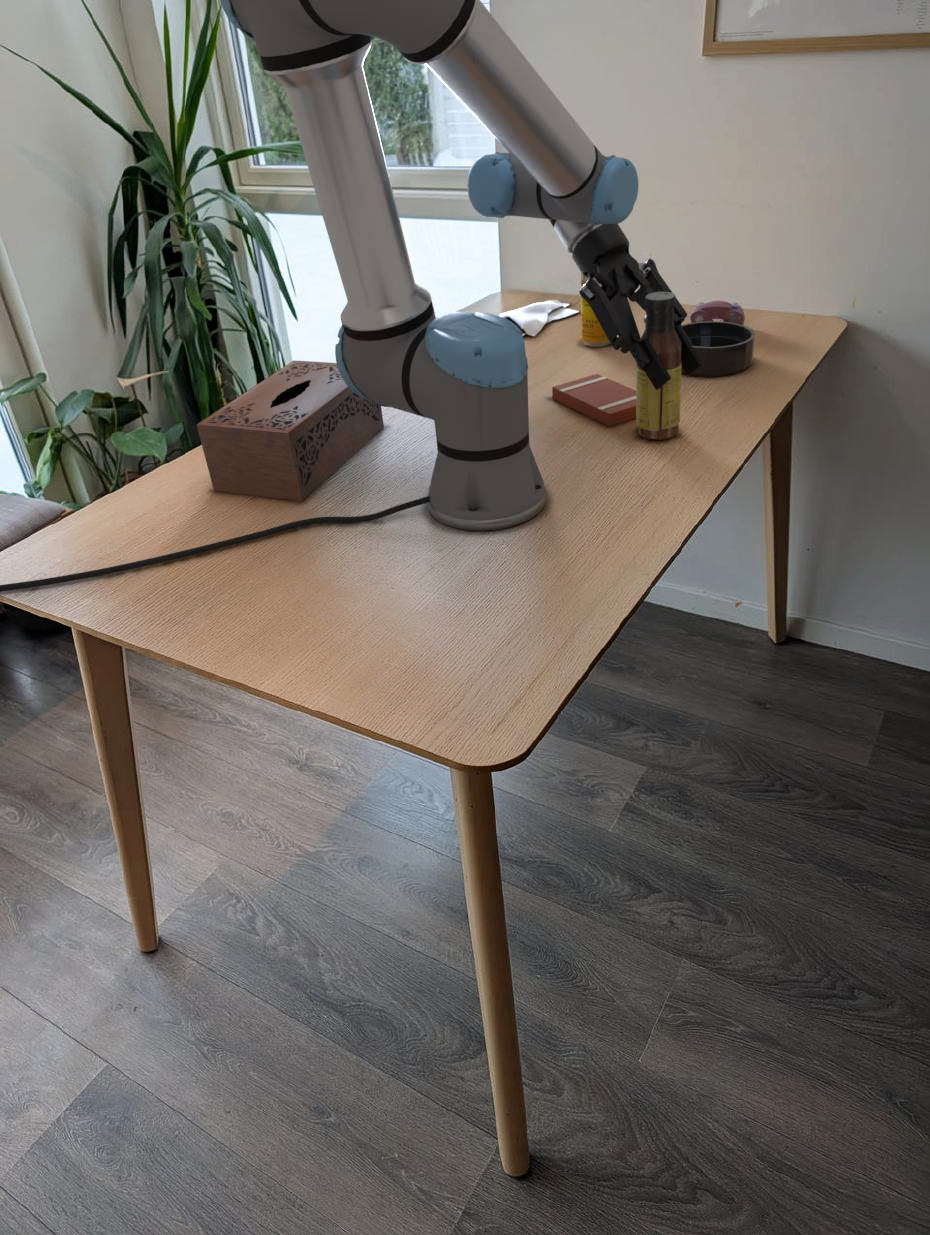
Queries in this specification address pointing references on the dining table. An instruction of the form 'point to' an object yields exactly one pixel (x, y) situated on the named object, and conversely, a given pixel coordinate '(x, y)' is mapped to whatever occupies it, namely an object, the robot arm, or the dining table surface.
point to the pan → (721, 347)
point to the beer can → (590, 324)
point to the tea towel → (598, 398)
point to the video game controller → (718, 312)
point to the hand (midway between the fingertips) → (679, 376)
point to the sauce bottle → (663, 405)
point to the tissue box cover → (287, 432)
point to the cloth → (537, 315)
